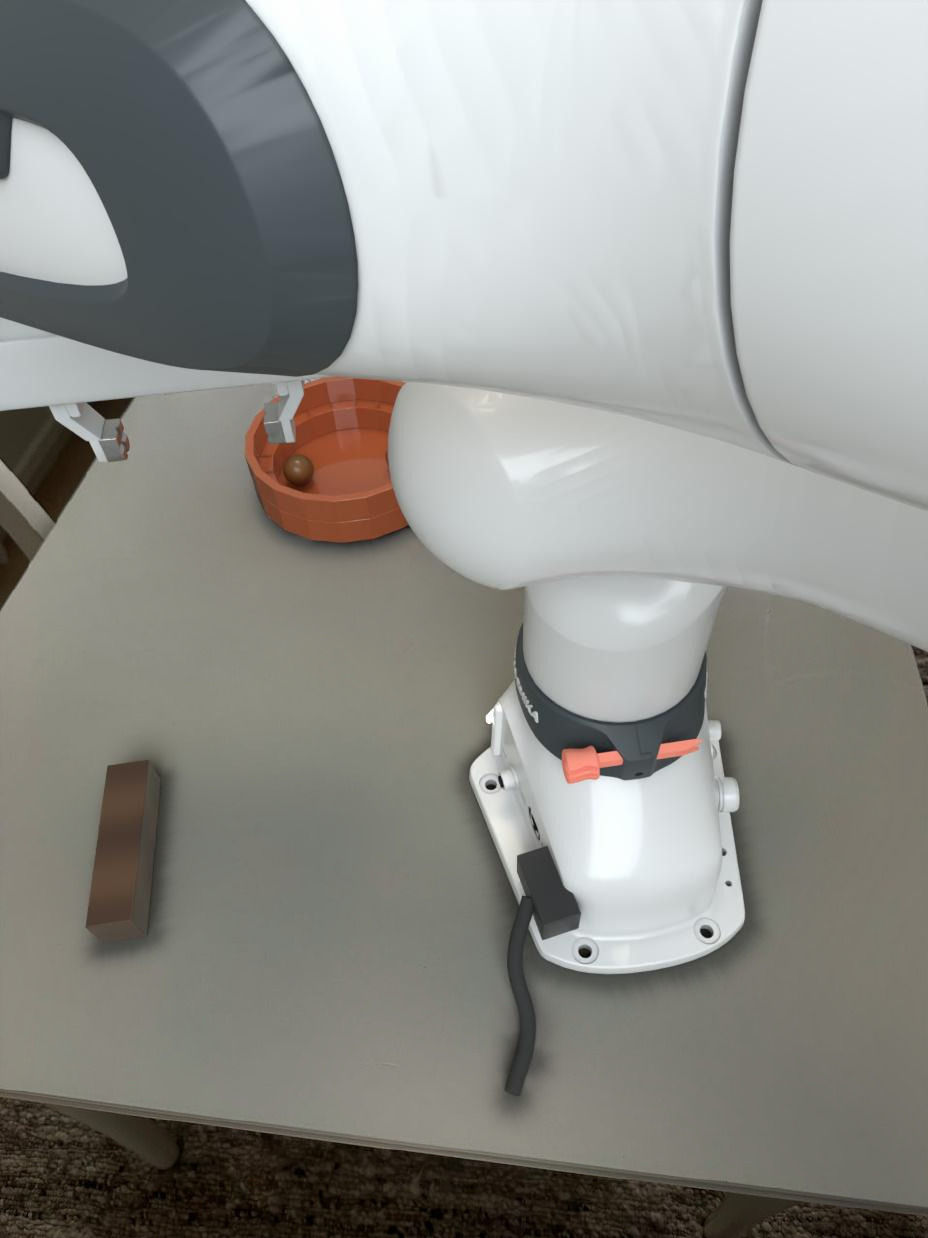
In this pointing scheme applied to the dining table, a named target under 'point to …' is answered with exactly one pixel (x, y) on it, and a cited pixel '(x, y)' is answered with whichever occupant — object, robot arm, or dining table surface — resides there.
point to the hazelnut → (298, 469)
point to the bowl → (332, 463)
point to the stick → (124, 853)
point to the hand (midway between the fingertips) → (200, 445)
